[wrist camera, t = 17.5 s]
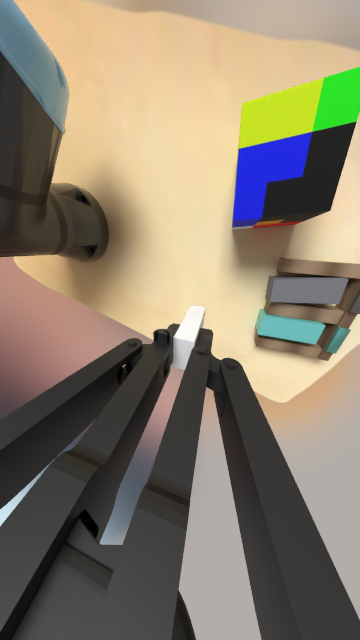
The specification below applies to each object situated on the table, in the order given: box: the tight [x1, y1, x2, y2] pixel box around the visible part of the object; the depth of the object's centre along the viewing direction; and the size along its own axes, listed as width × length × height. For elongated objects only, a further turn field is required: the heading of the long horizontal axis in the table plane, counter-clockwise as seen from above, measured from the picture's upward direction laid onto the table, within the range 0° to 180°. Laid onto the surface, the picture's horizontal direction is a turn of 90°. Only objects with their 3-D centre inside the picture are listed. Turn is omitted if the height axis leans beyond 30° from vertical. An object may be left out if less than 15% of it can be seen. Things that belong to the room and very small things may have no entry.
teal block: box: [255, 310, 326, 344], centre depth 30 cm, size 10×4×4 cm, turn 87°
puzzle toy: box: [232, 67, 360, 230], centre depth 20 cm, size 10×10×10 cm
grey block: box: [266, 276, 349, 304], centre depth 27 cm, size 10×4×4 cm, turn 93°
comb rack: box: [255, 259, 360, 361], centre depth 28 cm, size 13×18×4 cm
